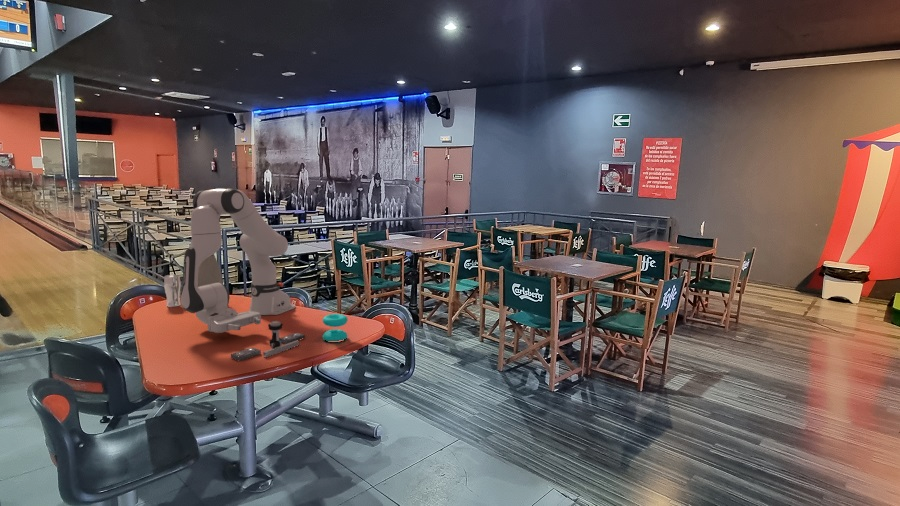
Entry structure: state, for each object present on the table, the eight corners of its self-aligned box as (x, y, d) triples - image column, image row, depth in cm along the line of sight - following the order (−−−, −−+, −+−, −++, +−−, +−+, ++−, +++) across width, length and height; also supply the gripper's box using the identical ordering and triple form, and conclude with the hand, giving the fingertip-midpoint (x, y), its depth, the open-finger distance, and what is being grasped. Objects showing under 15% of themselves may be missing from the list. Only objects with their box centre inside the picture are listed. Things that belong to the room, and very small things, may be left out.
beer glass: (174, 308, 234) (172, 277, 232) (161, 306, 235) (160, 276, 233) (184, 304, 241) (183, 275, 238) (172, 303, 242) (171, 274, 240)
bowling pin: (192, 305, 240) (189, 229, 234) (207, 300, 251) (205, 227, 245) (212, 307, 238) (210, 231, 232) (227, 301, 249) (225, 228, 243)
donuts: (318, 318, 195) (329, 312, 204) (318, 342, 196) (329, 334, 206) (341, 321, 192) (351, 314, 202) (340, 344, 194) (351, 337, 204)
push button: (263, 346, 189) (263, 321, 187) (275, 342, 193) (275, 318, 191) (273, 350, 185) (273, 325, 183) (285, 346, 189) (285, 322, 187)
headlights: (296, 336, 202) (296, 331, 201) (312, 340, 197) (312, 336, 197) (230, 358, 175) (230, 353, 175) (248, 364, 170) (248, 358, 170)
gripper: (248, 320, 208) (270, 326, 201) (204, 332, 190) (227, 339, 184) (248, 305, 207) (270, 311, 200) (203, 317, 189) (226, 323, 183)
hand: (249, 325), depth 192 cm, fingers open, 8 cm apart
